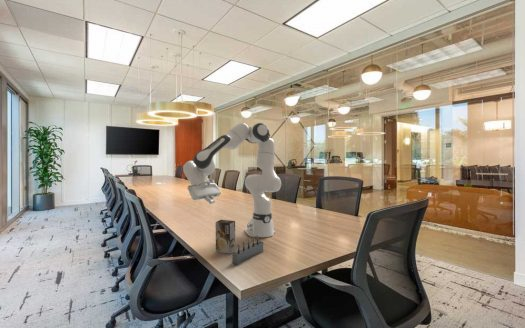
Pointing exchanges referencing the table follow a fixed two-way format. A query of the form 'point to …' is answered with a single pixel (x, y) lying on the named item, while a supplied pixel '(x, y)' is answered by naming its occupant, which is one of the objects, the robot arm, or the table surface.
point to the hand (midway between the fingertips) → (212, 202)
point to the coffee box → (225, 236)
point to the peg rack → (247, 251)
